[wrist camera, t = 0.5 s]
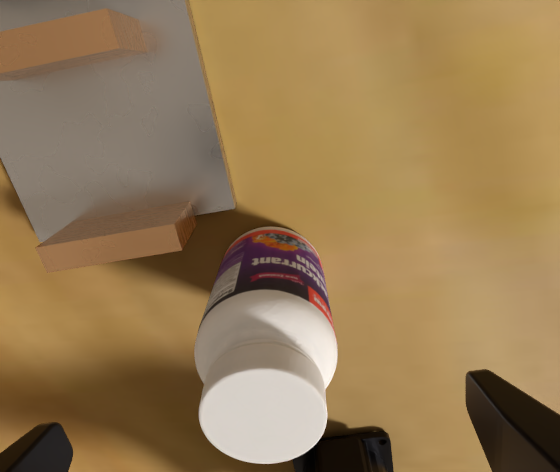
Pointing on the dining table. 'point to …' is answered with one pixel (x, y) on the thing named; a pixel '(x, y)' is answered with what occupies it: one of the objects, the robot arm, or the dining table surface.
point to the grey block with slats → (108, 127)
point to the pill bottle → (266, 349)
